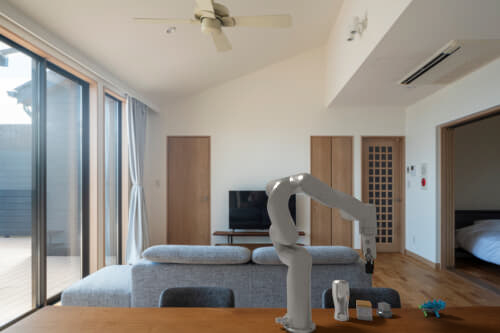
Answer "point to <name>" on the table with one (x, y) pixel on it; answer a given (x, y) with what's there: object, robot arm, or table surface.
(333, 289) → the beer glass
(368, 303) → the wooden tan cube
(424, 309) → the blue lumpy figure
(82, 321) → the table surface
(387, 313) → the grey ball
